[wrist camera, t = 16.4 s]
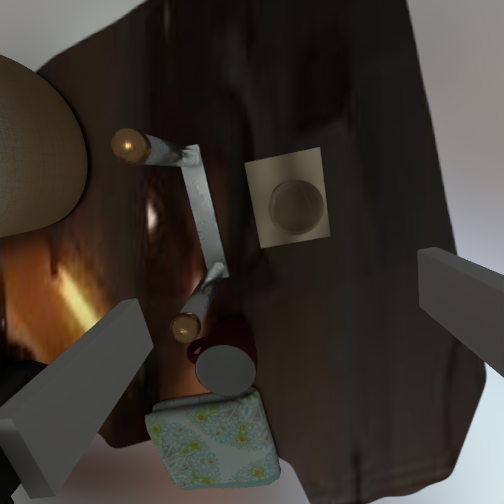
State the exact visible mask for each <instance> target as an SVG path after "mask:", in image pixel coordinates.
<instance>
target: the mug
mask: <svg viewBox="0 0 504 504" xmlns="http://www.w3.org/2000/svg"><path fill="white" fill-rule="evenodd" d="M200 347H201V349H200V351H199V354H194V352H195V351H196V350H197V349H198V348H200ZM187 358H188V360H189V361H190V362H191V363H193V364H195V373H196V376H197V379H198V380H199V382H200V383H201V384H202V385H203V386H204V387H205V388H206V389H207V390H209V391H211V392H213V393H215V394H218V395H222V396H234V395H238V394H241V393H243V392H245V391H246V390H248V389H249V388H250V387H251V386H252V384H253V383H254V381H255V378H256V373H257V351H256V346H255V340H254V336H253V332H252V330H251V328H250V327H249V326H248V325H247V323H245V322H244V321H243V320H242V319H240V318H236V317H233V318H228V319H225V320H223V321H221V322H220V323H219V324H217V325H216V327H215V328H214V329H213V331H212V332H211V333H210V335H209V336H208V337H203V338H199V339H197V340H195V341H193V342H192V343H191V344H190V345H189V347H188V349H187Z"/></svg>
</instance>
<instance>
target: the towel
mask: <svg viewBox="0 0 504 504" xmlns="http://www.w3.org/2000/svg"><path fill="white" fill-rule="evenodd" d="M145 423H146V427H147V430H148V433H149V435H150V437H151V439H152V441H153V444H154V446H155V447H156V449H157V451H158V453H159V455H160V457H161V459H162V461H163V463H164V465H165V468H166V470H167V472H168V475H169V476H170V479H171V481H172V482H173V483H174V484H177V485H178V486H179V487H180V488H181V489H182V490H193V489H200V488H240V487H255V486H263V485H269V484H271V483H272V482H274V481H275V480H277V479H278V478H279V476H280V473H281V468H280V465H279V460H278V455H277V452H276V448H275V445H274V442H273V438H272V435H271V432H270V428H269V425H268V422H267V418H266V414H265V411H264V407H263V403H262V400H261V397H260V394H259V392H258V389H256V388H254V387H252V386H251V387H250V388H249V389H248V390H246V391H245V392H243V393H241V394H238V395H234V396H222V395H218V394H215V393H207V394H201V395H195V396H188V397H182V398H175V399H170V400H165V401H161V402H159V403H156V404H155V405H154V406H153V411H152V413H150V414H147V415H145Z"/></svg>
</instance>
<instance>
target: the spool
mask: <svg viewBox="0 0 504 504" xmlns="http://www.w3.org/2000/svg"><path fill="white" fill-rule="evenodd" d="M268 211H269V216H270V219H271V221H272V223H273V224H274V226H275V227H276V228H277V229H278V230H280V231H281V232H283V233H285V234H288V235H302V234H305V233H308V232H310V231H311V230H313V229H314V228H315V227H316V226H317V225H318V223H319V222H320V220H321V218H322V216H323V212H324V201H323V197H322V195H321V193H320V191H319V190H318V189H317V188H316V187H315V186H314V185H313V184H311V183H309V182H307V181H304V180H290V181H285V182H282V183H280V184H279V185H278V186H276V187H275V189H274V190H273V192H272V194H271V197H270V200H269V205H268Z"/></svg>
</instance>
